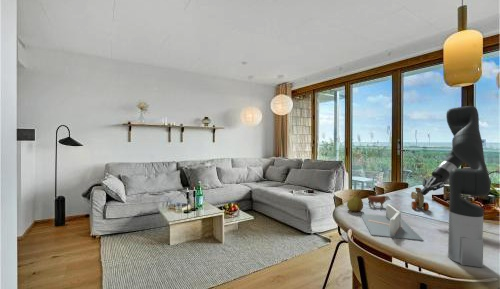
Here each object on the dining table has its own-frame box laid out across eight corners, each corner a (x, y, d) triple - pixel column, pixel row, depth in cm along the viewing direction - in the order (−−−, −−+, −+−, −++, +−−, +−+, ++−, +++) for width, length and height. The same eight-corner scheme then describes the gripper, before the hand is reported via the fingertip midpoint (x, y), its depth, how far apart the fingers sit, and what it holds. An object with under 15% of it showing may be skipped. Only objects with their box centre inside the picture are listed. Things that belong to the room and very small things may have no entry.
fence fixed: (396, 226, 121) (396, 211, 121) (401, 227, 120) (401, 212, 120) (389, 236, 109) (389, 219, 109) (394, 237, 108) (394, 220, 108)
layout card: (423, 241, 104) (423, 239, 104) (371, 235, 110) (371, 234, 110) (400, 217, 135) (400, 217, 135) (360, 214, 140) (360, 213, 140)
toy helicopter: (413, 210, 149) (414, 188, 149) (405, 202, 169) (405, 182, 168) (429, 211, 146) (430, 189, 146) (419, 203, 166) (419, 183, 166)
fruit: (344, 209, 150) (344, 190, 150) (355, 208, 153) (355, 189, 153) (354, 213, 142) (354, 193, 142) (366, 212, 145) (366, 192, 145)
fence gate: (399, 225, 121) (399, 211, 121) (395, 224, 121) (395, 211, 121) (389, 216, 135) (389, 204, 135) (385, 216, 135) (385, 203, 135)
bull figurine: (391, 208, 153) (391, 195, 153) (368, 207, 156) (368, 194, 156) (388, 206, 157) (388, 194, 157) (366, 205, 160) (366, 193, 160)
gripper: (430, 165, 138) (409, 186, 138) (450, 168, 125) (427, 192, 124) (438, 174, 138) (417, 195, 138) (460, 178, 125) (437, 202, 125)
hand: (422, 193), depth 131 cm, fingers closed
